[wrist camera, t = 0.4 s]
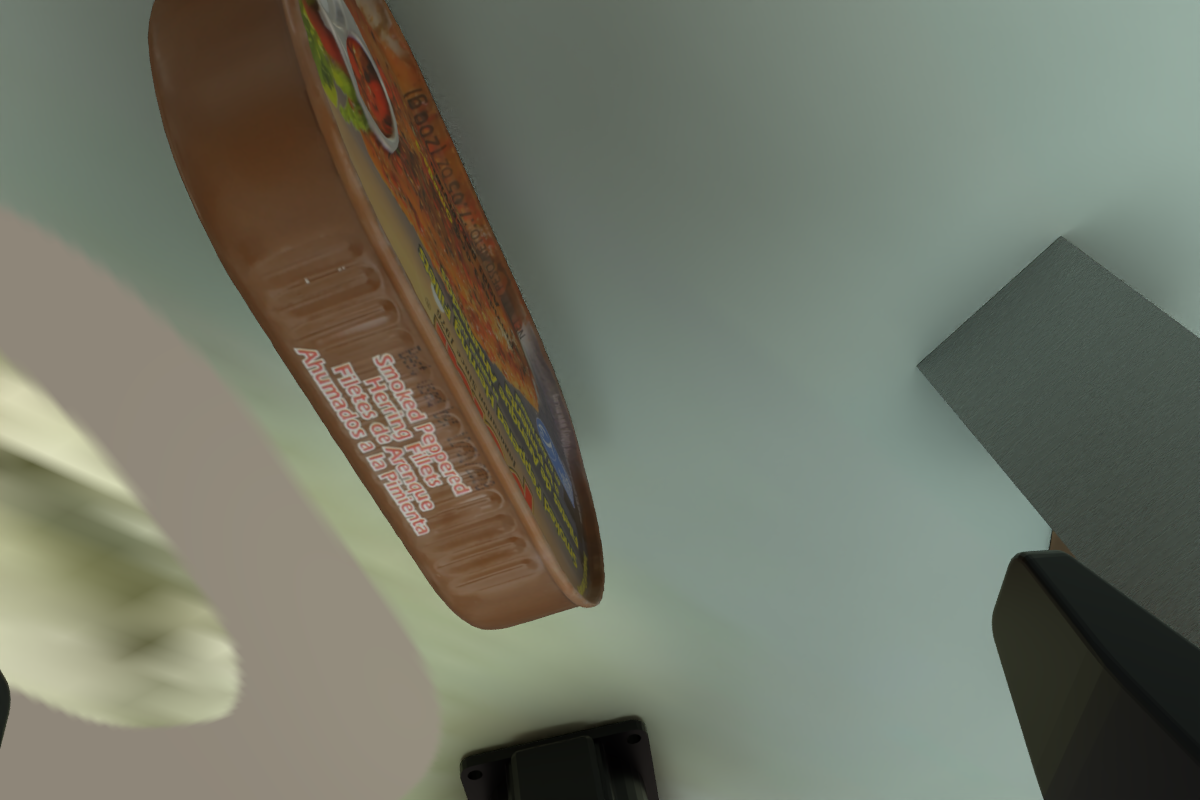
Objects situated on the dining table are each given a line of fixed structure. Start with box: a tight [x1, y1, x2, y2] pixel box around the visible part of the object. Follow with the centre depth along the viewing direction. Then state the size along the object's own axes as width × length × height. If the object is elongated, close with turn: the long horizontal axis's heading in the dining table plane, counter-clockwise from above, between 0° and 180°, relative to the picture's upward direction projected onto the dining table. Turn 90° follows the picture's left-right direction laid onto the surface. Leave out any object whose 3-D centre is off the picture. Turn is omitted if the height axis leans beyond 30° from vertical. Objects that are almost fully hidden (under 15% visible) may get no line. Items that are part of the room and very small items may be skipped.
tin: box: [148, 0, 605, 630], centre depth 20 cm, size 15×3×8 cm, turn 19°
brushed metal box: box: [917, 236, 1200, 648], centre depth 23 cm, size 5×5×12 cm
